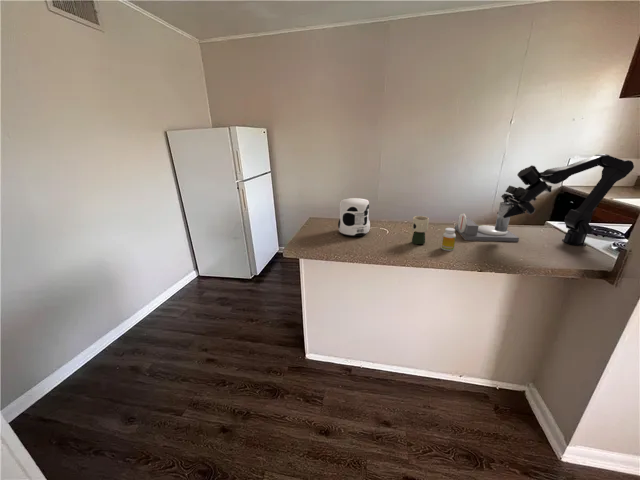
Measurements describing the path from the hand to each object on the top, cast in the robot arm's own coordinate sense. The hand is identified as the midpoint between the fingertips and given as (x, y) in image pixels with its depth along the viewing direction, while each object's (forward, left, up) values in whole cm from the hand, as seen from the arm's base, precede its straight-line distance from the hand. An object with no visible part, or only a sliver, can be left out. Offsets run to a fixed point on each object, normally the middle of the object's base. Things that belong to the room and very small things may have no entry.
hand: (500, 215), depth 127 cm
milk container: (+69, -7, -14) cm, 71 cm away
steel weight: (-1, 0, -7) cm, 7 cm away
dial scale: (+1, -10, -13) cm, 17 cm away
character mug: (+37, +5, -14) cm, 40 cm away
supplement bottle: (+25, +11, -14) cm, 30 cm away
